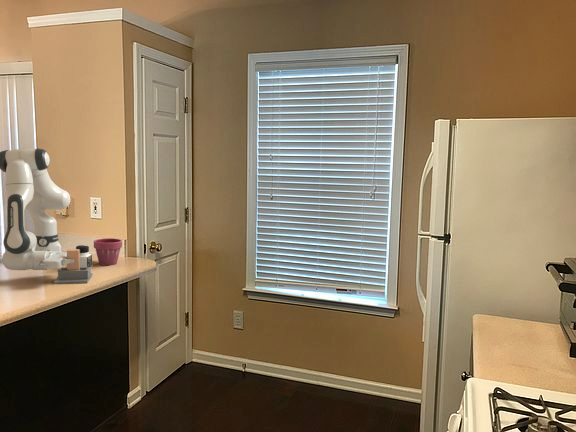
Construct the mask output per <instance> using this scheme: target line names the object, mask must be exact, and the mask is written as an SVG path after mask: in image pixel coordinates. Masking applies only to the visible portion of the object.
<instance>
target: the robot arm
mask: <svg viewBox="0 0 576 432" xmlns="http://www.w3.org/2000/svg"><path fill="white" fill-rule="evenodd" d="M50 162H51V159H50V155H49V153H48V152H47V150H45V149H43V148H18V149H17V148H16V149H6V150H2V151H0V171H2V172H4V173H5V180H4V181H5V191H6V202H7V206H6V210H7V214H6V215H7V216H6V219H7V224H6V225H7V226H6V227H7V228H6V232H5V235H4V238H3V246H4V249H5V252H4V253H3V254H2V258H1V261H2V264H3V266H4V267H5V268H6V269H7V270H10V271H28V270H32V271H47V270H58V269H61V268H62V267H63V266H64V265H67V264H69V263H74V262H75V259H67V251H63V250H62V244H61V243H60V242H59V240H60V239H59V233H58V222H57V219H56V218H55V217H53V216H52V215H49V214H48V212H47V210H54V211H55V210H63V209H67V208H68V207H69V205H70V204H71V195H70V194H69V192H68V191H66V190H65V189H63V188H61V187H59V186H58V185H57V184H56V183H55V182H54V181H53V180H52V179H51V177H50V174H49V172H48V168H49V166H50ZM25 210H26V211H27V212H28V214H29V215H30V217H31V221H32V224H33V232H32V231H29V230H26V229H25Z"/></svg>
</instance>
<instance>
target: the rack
mask: <svg viewBox="0 0 576 432" xmlns="http://www.w3.org/2000/svg"><path fill="white" fill-rule="evenodd" d="M91 268H92V267H80V270H67V266H65V267H63V266H61V267H60V270H57V278H56V279H55V280H54V281H53V284H54V285H61V284H62V285H64V284H65V285H66V284H67V285H68V284H69V285H70V284H88V283H89V281H90V280H91V278H92V277H93V273H92V271H91Z"/></svg>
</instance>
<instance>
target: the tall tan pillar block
mask: <svg viewBox="0 0 576 432" xmlns="http://www.w3.org/2000/svg"><path fill="white" fill-rule="evenodd" d="M66 252H67V259H75V262H74V263H69V264H66V267H67V270H80V249H76V248H73V249H67V250H66Z"/></svg>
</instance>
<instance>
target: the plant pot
mask: <svg viewBox="0 0 576 432" xmlns="http://www.w3.org/2000/svg"><path fill="white" fill-rule="evenodd" d="M122 247H123V239H120V238H109V237H108V238H97V239H95V240H93V249H94V250H95V253H96V256H97V261H98V264H99V265H101V266H115V265H117V263H118V261H119V260H118V259H119V256H120V251H121V248H122Z"/></svg>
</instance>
